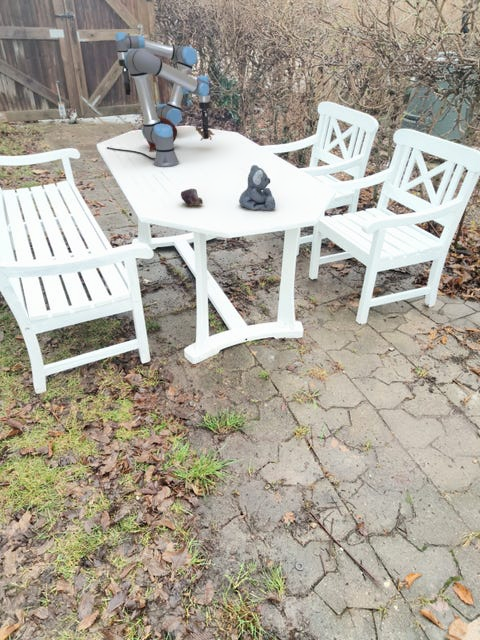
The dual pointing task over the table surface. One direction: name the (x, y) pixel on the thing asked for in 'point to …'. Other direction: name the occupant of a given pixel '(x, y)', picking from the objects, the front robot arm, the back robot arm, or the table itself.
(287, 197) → the table surface
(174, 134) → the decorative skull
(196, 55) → the back robot arm
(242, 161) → the table surface
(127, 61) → the front robot arm
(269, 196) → the koala plush
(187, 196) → the rock
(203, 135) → the dinosaur figurine
